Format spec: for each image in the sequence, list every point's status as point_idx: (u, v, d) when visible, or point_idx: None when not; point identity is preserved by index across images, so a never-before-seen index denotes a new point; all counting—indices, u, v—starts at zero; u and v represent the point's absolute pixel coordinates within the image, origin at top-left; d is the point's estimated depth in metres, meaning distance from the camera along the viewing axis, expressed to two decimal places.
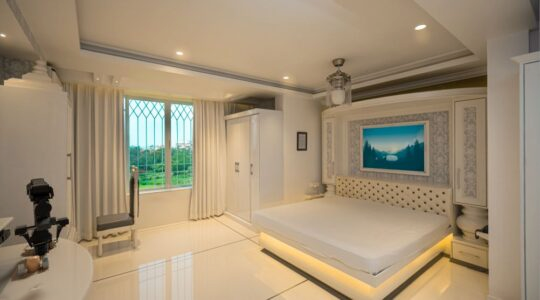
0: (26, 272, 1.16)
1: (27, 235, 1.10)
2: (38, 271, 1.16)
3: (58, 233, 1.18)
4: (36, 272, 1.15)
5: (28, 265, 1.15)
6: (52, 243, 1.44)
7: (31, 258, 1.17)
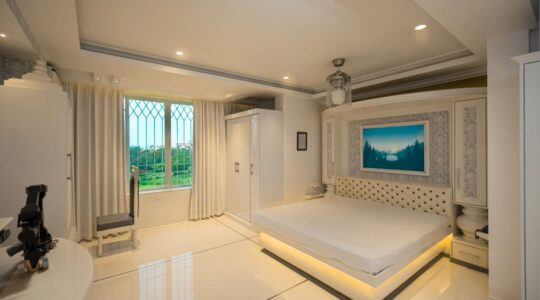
0: (26, 272, 1.16)
1: None
2: (38, 271, 1.16)
3: (30, 262, 1.15)
4: (36, 272, 1.15)
5: (28, 265, 1.15)
6: (52, 243, 1.44)
7: None
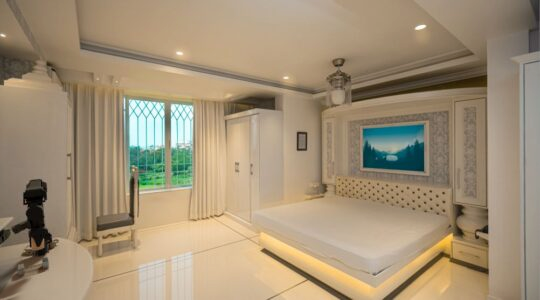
0: (26, 272, 1.16)
1: None
2: (38, 271, 1.16)
3: (34, 240, 1.16)
4: (36, 272, 1.15)
5: (32, 243, 1.16)
6: (52, 243, 1.44)
7: None
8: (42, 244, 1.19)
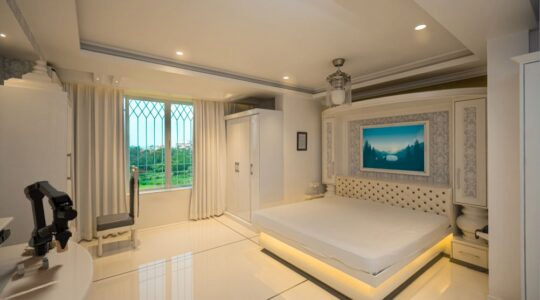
0: (26, 272, 1.16)
1: (55, 236, 1.26)
2: (38, 271, 1.16)
3: None
4: (36, 272, 1.15)
5: (58, 246, 1.23)
6: (53, 243, 1.44)
7: None
8: (66, 246, 1.25)
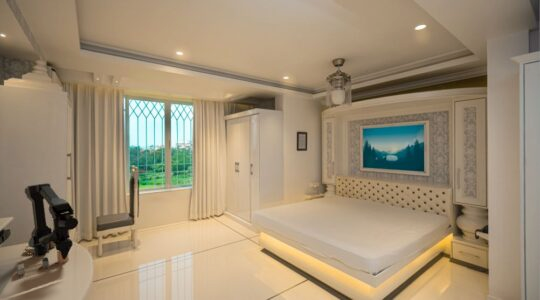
0: (26, 272, 1.16)
1: (55, 243, 1.27)
2: (38, 271, 1.16)
3: (61, 253, 1.21)
4: (36, 272, 1.15)
5: (58, 257, 1.23)
6: (53, 243, 1.44)
7: None
8: (67, 258, 1.26)
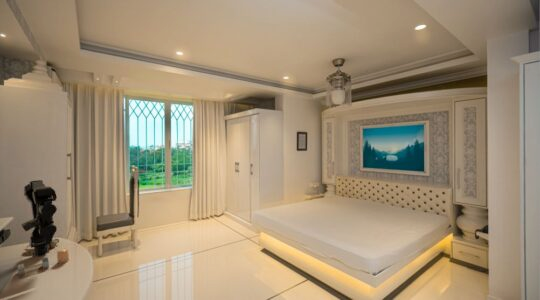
0: (26, 272, 1.16)
1: (38, 229, 1.26)
2: (38, 271, 1.16)
3: (44, 238, 1.20)
4: (36, 272, 1.15)
5: (58, 257, 1.23)
6: (53, 243, 1.44)
7: (61, 251, 1.25)
8: (67, 258, 1.26)
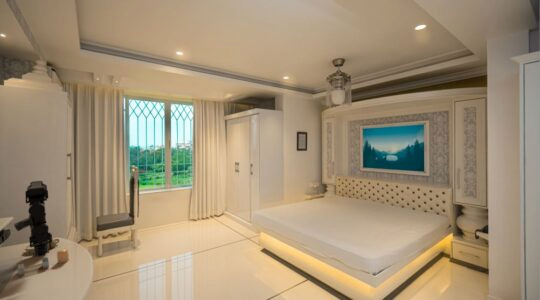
0: (26, 272, 1.16)
1: None
2: (38, 271, 1.16)
3: (36, 238, 1.20)
4: (36, 272, 1.15)
5: (58, 257, 1.23)
6: (53, 243, 1.44)
7: (61, 251, 1.25)
8: (67, 258, 1.26)
